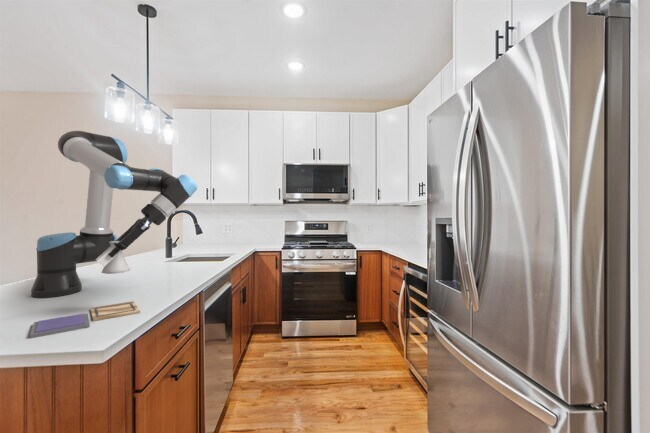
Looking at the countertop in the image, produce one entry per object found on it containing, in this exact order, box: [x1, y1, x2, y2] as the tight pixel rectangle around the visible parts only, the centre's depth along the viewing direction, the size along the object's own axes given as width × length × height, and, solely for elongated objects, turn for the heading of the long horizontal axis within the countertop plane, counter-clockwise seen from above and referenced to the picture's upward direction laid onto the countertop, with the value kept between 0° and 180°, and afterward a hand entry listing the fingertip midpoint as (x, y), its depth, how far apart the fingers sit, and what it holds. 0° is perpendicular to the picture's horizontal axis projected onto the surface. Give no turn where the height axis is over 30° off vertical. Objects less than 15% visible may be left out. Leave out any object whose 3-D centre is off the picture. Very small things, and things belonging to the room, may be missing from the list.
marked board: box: [90, 300, 141, 322], centre depth 99 cm, size 14×12×1 cm
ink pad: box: [29, 313, 91, 339], centre depth 86 cm, size 12×12×1 cm
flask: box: [101, 241, 131, 275], centre depth 99 cm, size 7×7×10 cm
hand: (99, 263), depth 97 cm, fingers closed on flask, 3 cm apart
